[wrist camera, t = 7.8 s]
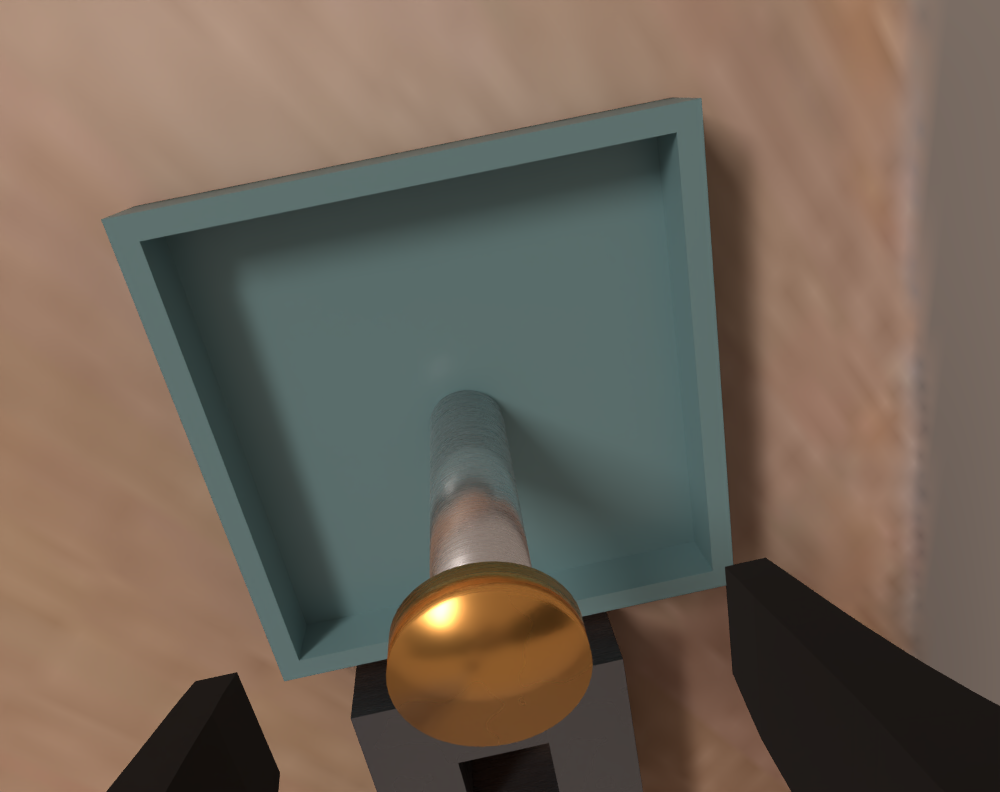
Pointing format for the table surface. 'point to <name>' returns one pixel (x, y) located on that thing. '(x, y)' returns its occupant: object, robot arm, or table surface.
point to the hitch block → (516, 766)
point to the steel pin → (483, 600)
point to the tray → (448, 363)
